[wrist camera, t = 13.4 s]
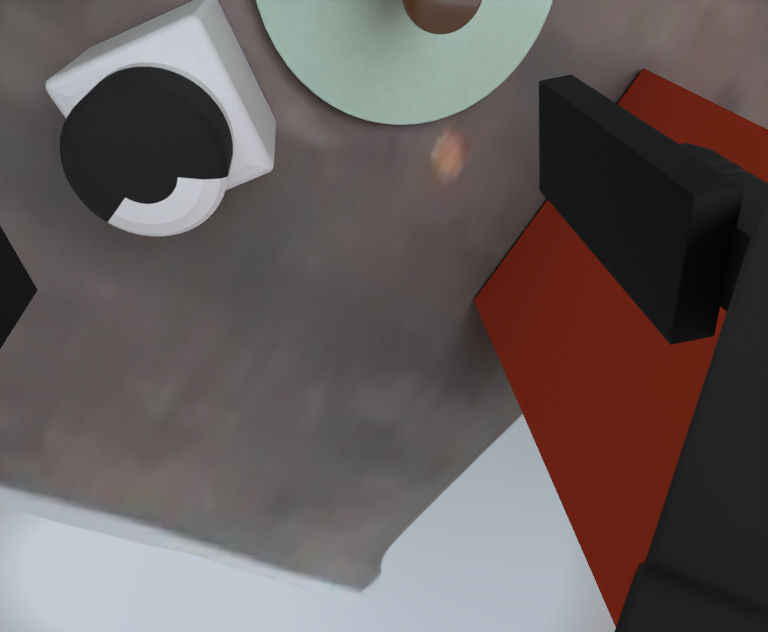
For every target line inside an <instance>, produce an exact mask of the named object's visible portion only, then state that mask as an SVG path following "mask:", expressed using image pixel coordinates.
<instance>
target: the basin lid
mask: <svg viewBox="0 0 768 632" xmlns="http://www.w3.org/2000/svg"><path fill="white" fill-rule="evenodd" d="M552 2H553V0H256V3H257V7H258V10H259V12H260V15H261V18H262V21H263V23H264V26H265V29H266V31H267V33H268V35H269V37H270V38H271V40H272V42H273V44H274V46H275V48H276V50H277V51H278V53H279V54H280V56H281V57H282V59H283V60H284V62H285V63H286V65H287V66H288V67H289V68H290V70H291V71H292V72H293V73H294V74H295V75H296V77H297V78H298V79H299V80H300V81H301V82H302V83H303V84H304V85H305V86H306V87H307V88H309V89H310V90H311V91H312V92H313V93H314V94H315V95H317V96H318V97H320V98H321V99H322V100H324V101H325V102H327V103H328V104H330V105H331V106H333V107H335V108H337V109H339V110H341V111H343V112H345V113H347V114H349V115H352V116H355V117H358V118H360V119H363V120H367V121H372V122H376V123H381V124H393V125H409V124H420V123H426V122H431V121H436V120H439V119H442V118H445V117H448V116H451V115H453V114H456V113H458V112H460V111H462V110H464V109H466V108H468V107H470V106H472V105H473V104H475V103H476V102H478V101H480V100H481V99H483V98H484V97H486V96H487V95H488V94H489V93H491V92H492V91H493V90H494V89H496V88H497V87H498V86H499V85H500V84H501V83H502V82H503V81H504V80H505V79H506V78H507V77H508V76H509V75H510V74H511V73H512V72H513V71H514V70H515V69H516V67H517V66H518V65H519V64H520V62H521V61H522V60H523V59H524V57H525V56H526V55H527V53H528V51H529V50H530V48H531V47H532V45H533V43H534V42H535V40H536V39H537V37H538V35H539V33H540V31H541V29H542V27H543V24H544V22H545V20H546V18H547V16H548V13H549V10H550V7H551V4H552Z"/></svg>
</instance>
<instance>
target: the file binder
mask: <svg viewBox="0 0 768 632" xmlns="http://www.w3.org/2000/svg"><path fill="white" fill-rule="evenodd" d="M618 105H619V106H621V107H622V108H624V109H625V110H627V111H628V112H630V113H632V114H633V115H635V116H636V117H638V118H639V119H641V120H642V121H644V122H646V123H647V124H649V125H650V126H652V127H653V128H655V129H656V130H658V131H660V132H661V133H663V134H664V135H666V136H667V137H669V138H670V139H672V140H674V141H675V142H677V143H678V144H683V143H690V144H694V145H697V146H701V147H704V148H708V149H712V150H714V151H715V152H717V153H719V154H720V155H722V156H724V157H725V158H727V159H729V162H730V163H731V162H733V163H735V164H737V165H738V166H740V167H742V168H743V169H744V171H748V172H750V173H752V174H753V175H755V176H757V177H758V178H760V179H761V180H763V181H765V182H766V183H768V130H767V129H765V128H763V127H761V126H759V125H757V124H755V123H753V122H751V121H749V120H747V119H745V118H743V117H741V116H739V115H737V114H735V113H733V112H731V111H729V110H727V109H725V108H723V107H721V106H719V105H717V104H715V103H712V102H710V101H708V100H706V99H704V98H702V97H700V96H698V95H696V94H694V93H692V92H690V91H688V90H686V89H684V88H682V87H680V86H678V85H676V84H674V83H672V82H670V81H668V80H666V79H664V78H662V77H660V76H658V75H656V74H654V73H652V72H650V71H648V70H645V69H643V70H642V72H641V73H640V74H639V76H638V77H637V78H636V80H635V81H634V82H633V84H632V85H631V87H630V88H629V89H628V91H627V92H626V93H625V95H624V96H623V98H622V99H621V100H620V102H619V103H618ZM474 302H475V305H476V307H477V309H478V312H479V314H480V316H481V319H482V321H483V323H484V325H485V328H486V330H487V332H488V335H489V337H490V339H491V341H492V344H493V346H494V348H495V351H496V353H497V355H498V358H499V360H500V362H501V364H502V367H503V369H504V371H505V374H506V376H507V378H508V381H509V383H510V385H511V387H512V390H513V392H514V394H515V397H516V399H517V401H518V404H519V406H520V408H521V410H522V413H523V415H524V417H525V419H526V422H527V424H528V426H529V429H530V431H531V433H532V435H533V438H534V440H535V442H536V445H537V447H538V449H539V452H540V454H541V456H542V458H543V461H544V463H545V466H546V468H547V470H548V472H549V475H550V477H551V479H552V482H553V484H554V486H555V488H556V491H557V493H558V495H559V498H560V500H561V502H562V505H563V507H564V509H565V511H566V514H567V516H568V518H569V521H570V523H571V525H572V527H573V530H574V532H575V534H576V537H577V539H578V541H579V544H580V546H581V548H582V550H583V553H584V555H585V557H586V560H587V562H588V564H589V567H590V569H591V571H592V573H593V576H594V578H595V580H596V583H597V585H598V587H599V590H600V592H601V594H602V596H603V599H604V601H605V603H606V605H607V608H608V610H609V613H610V615H611V617H612V619H613V622H614V624H615V626H616V627H617V624H618V621H619V618H620V615H621V612H622V609H623V606H624V603H625V600H626V597H627V594H628V591H629V588H630V586H631V583H632V580H633V577H634V575H635V572H636V570H637V568H638V566H639V564H640V563H644V561H645V559H646V556H647V554H648V551H649V548H650V545H651V542H652V539H653V536H654V533H655V530H656V527H657V524H658V521H659V518H660V514H661V511H662V508H663V505H664V502H665V499H666V496H667V493H668V490H669V487H670V484H671V481H672V478H673V475H674V472H675V469H676V466H677V463H678V460H679V456H680V453H681V450H682V447H683V444H684V441H685V438H686V435H687V432H688V429H689V426H690V423H691V420H692V417H693V414H694V411H695V408H696V405H697V401H698V398H699V395H700V392H701V389H702V386H703V383H704V380H705V377H706V374H707V371H708V368H709V365H710V362H711V359H712V356H713V353H714V350H715V346H716V343H717V340H718V337H719V334H720V331H721V328H722V325H723V322H724V319H725V316H726V313H727V312H726V311H725V310H724V309H723V308H722V307H721V306H720V310H719V315H718V320H717V325H716V330H715V335H714V336H712V337H707V338H702V339H698V340H693V341H688V342H683V343H678V344H673V345H670V344H669V343H668V342H667V340H666V339H665V338H664V337H663V336H662V334H661V333H660V332H659V331H658V330H657V329H656V327H655V326H654V325H653V324H652V323H651V321H650V320H649V319H648V318H647V317H646V315H645V314H644V313H643V312H642V311H641V310H640V308H639V307H638V306H637V305H636V304H635V302H634V301H633V300H632V299H631V298H630V297H629V295H628V294H627V293H626V292H625V291H624V289H623V288H622V287H621V286H620V285H619V284H618V282H617V281H616V280H615V279H614V278H613V276H612V275H611V274H610V273H609V272H608V270H607V269H606V268H605V267H604V266H603V265H602V263H601V262H600V261H599V260H598V259H597V257H596V256H595V255H594V254H593V253H592V252H591V250H590V249H589V248H588V247H587V246H586V244H585V243H584V242H583V241H582V240H581V239H580V237H579V236H578V235H577V234H576V233H575V231H574V230H573V229H572V228H571V227H570V225H569V224H568V223H567V222H566V221H565V220H564V218H563V217H562V216H561V215H560V214H559V212H558V211H557V210H556V209H555V208H554V207H553V205H552V204H551V203H550V202H549V201H548V200H547V201H546V203H545V204H544V206H543V207H542V208H541V210H540V211H539V212H538V214H537V215H536V216H535V218H534V219H533V221H532V222H531V223H530V225H529V226H528V227H527V229H526V230H525V231H524V233H523V234H522V236H521V237H520V238H519V240H518V241H517V242H516V244H515V245H514V247H513V248H512V249H511V251H510V252H509V253H508V255H507V256H506V257H505V259H504V260H503V262H502V263H501V264H500V266H499V267H498V268H497V270H496V271H495V273H494V274H493V275H492V277H491V278H490V279H489V281H488V282H487V283H486V285H485V286H484V288H483V289H482V290H481V292H480V293H479V294H478V296H477V297H476V298H475V300H474Z"/></svg>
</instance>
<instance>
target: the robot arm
mask: <svg viewBox="0 0 768 632" xmlns="http://www.w3.org/2000/svg"><path fill="white" fill-rule="evenodd" d="M539 157H540V191H541V192H542V193H543V195H544V196H545V197H546V198H547V199H548V201H549V202H550V203H551V204H552V205H553V207H554V208H555V209H556V210H557V211H558V212H559V214H560V215H561V216H562V217H563V218H564V220H565V221H566V222H567V223H568V224H569V225H570V227H571V228H572V229H573V230H574V231H575V233H576V234H577V235H578V236H579V237H580V239H581V240H582V241H583V242H584V243H585V244H586V246H587V247H588V248H589V249H590V250H591V252H592V253H593V254H594V255H595V256H596V257H597V259H598V260H599V261H600V262H601V263H602V265H603V266H604V267H605V268H606V269H607V270H608V272H609V273H610V274H611V275H612V276H613V278H614V279H615V280H616V281H617V282H618V284H619V285H620V286H621V287H622V288H623V289H624V291H625V292H626V293H627V294H628V295H629V297H630V298H631V299H632V300H633V301H634V302H635V304H636V305H637V306H638V307H639V308H640V310H641V311H642V312H643V313H644V314H645V315H646V317H647V318H648V319H649V320H650V321H651V323H652V324H653V325H654V326H655V327H656V329H657V330H658V331H659V332H660V333H661V334H662V336H663V337H664V338H665V339H666V340H667V342H668V343H669V344H670V345H673V344H678V343H683V342H688V341H693V340H698V339H702V338H707V337H712V336H714V335H715V330H716V325H717V320H718V315H719V310H720V306H721V307H722V308H723V309H724V310H725V311H726V312H727V313H726V316H725V319H724V322H723V325H722V328H721V331H720V334H719V337H718V340H717V343H716V346H715V350H714V353H713V356H712V359H711V362H710V365H709V368H708V371H707V374H706V377H705V380H704V383H703V386H702V389H701V392H700V395H699V398H698V401H697V405H696V408H695V411H694V414H693V417H692V420H691V423H690V426H689V429H688V432H687V435H686V438H685V441H684V444H683V447H682V450H681V453H680V456H679V460H678V463H677V466H676V469H675V472H674V475H673V478H672V481H671V484H670V487H669V490H668V493H667V496H666V499H665V502H664V505H663V508H662V511H661V514H660V518H659V521H658V524H657V527H656V530H655V533H654V536H653V539H652V542H651V545H650V548H649V551H648V554H647V556H646V559H645V561H644V563H640V564H639V566H638V568H637V570H636V572H635V575H634V577H633V580H632V583H631V586H630V588H629V591H628V594H627V597H626V600H625V603H624V606H623V609H622V612H621V615H620V618H619V621H618V624H617V627H616V630H615V632H768V183H766V182H765V181H763V180H761V179H760V178H758V177H757V176H755V175H753V174H752V173H750V172H748V171H744V169H743V168H742V167H740V166H738V165H737V164H735V163H733V162H731V163H730V162H729V159H727V158H725V157H724V156H722V155H720V154H719V153H717V152H715V151H714V150H712V149H708V148H704V147H701V146H697V145H694V144H690V143H683V144H678V143H677V142H675V141H674V140H672V139H670V138H669V137H667V136H666V135H664V134H663V133H661V132H660V131H658V130H656V129H655V128H653V127H652V126H650V125H649V124H647V123H646V122H644V121H642V120H641V119H639V118H638V117H636V116H635V115H633V114H632V113H630V112H628V111H627V110H625V109H624V108H622V107H621V106H619V105H618V104H616V103H614V102H613V101H611V100H610V99H608V98H607V97H605V96H604V95H602V94H601V93H599V92H597V91H596V90H594V89H593V88H591V87H590V86H588V85H587V84H585V83H583V82H582V81H580V80H579V79H577V78H576V77H574V76H573V75H567V76H562V77H557V78H552V79H547V80H542V81H539ZM36 291H37V288H36V287H35V285H34V283H33V281H32V280H31V278H30V276H29V275H28V273H27V271H26V269H25V268H24V266H23V264H22V263H21V261H20V259H19V257H18V256H17V254H16V252H15V250H14V249H13V247H12V245H11V244H10V242H9V240H8V238H7V237H6V235H5V233H4V232H3V230H2V228H1V226H0V348H1V347H2V345H3V344H4V342H5V341H6V339H7V337H8V336H9V334H10V333H11V331H12V329H13V328H14V326H15V325H16V323H17V322H18V320H19V318H20V317H21V315H22V314H23V312H24V310H25V309H26V307H27V306H28V304H29V303H30V301H31V299H32V298H33V296H34V295H35V293H36Z"/></svg>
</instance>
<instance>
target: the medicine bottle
mask: <svg viewBox="0 0 768 632" xmlns="http://www.w3.org/2000/svg"><path fill="white" fill-rule="evenodd" d="M45 88H46V91H47V92H48V94H49V95H50V97H51V98H52V100H53V101H54V102H55V104H56V105H57V107H58V108H59V110H60V111H61V113H62V114H63V115H64V117H65V118H66V121H65V123H64V126H63V129H62V133H61V139H60V154H61V161H62V165H63V169H64V172H65V174H66V177H67V179H68V181H69V183H70V185H71V187H72V189H73V190H74V192H75V193H76V194H77V196H78V197H79V198H80V200H81V201H82V202H83V203H84V204H85V205H86V206H87V207H88V208H89V209H90V210H91V211H92V212H94V213H95V214H96V215H97V216H99V217H100V218H102V219H103V220H105V221H106V222H108V223H110V224H111V225H113V226H115V227H117V228H120V229H122V230H125V231H128V232H131V233H135V234H139V235H145V236H171V235H176V234H180V233H183V232H186V231H189V230H191V229H193V228H195V227H197V226H198V225H200V224H201V223H203V222H204V221H205V220H207V219H208V218H209V217H210V216H211V215H212V214H213V213H214V211H215V210H216V208H217V207H218V206H219V204H220V202H221V200H222V198H223V196H224V193H225V191H226V190H228V189H231V188H233V187H235V186H238V185H240V184H243V183H245V182H247V181H250V180H252V179H255V178H257V177H259V176H262V175H264V174H267V173H269V172H270V171H271V170H272V169H273V167H274V154H275V139H276V120H275V118H274V116H273V114H272V111H271V109H270V107H269V105H268V103H267V101H266V99H265V97H264V95H263V93H262V91H261V89H260V87H259V85H258V83H257V81H256V78H255V76H254V74H253V72H252V70H251V68H250V66H249V64H248V62H247V60H246V58H245V56H244V54H243V52H242V50H241V48H240V45H239V43H238V41H237V39H236V37H235V35H234V33H233V31H232V29H231V27H230V25H229V23H228V21H227V19H226V17H225V15H224V12H223V10H222V8H221V6H220V4H219V2H218V0H193V1H191V2H188V3H186V4H184V5H182V6H180V7H177V8H175V9H173V10H171V11H169V12H167V13H164V14H162V15H160V16H158V17H156V18H153V19H151V20H149V21H147V22H145V23H142V24H140V25H138V26H136V27H134V28H132V29H129V30H127V31H125V32H123V33H121V34H118V35H116V36H114V37H112V38H110V39H107V40H105V41H103V42H101V43H99V44H96V45H94V46H92V47H90V48H89V49H88V50H86V51H85V52H84V53H82V54H81V55H80V56H78V57H77V58H76V59H74V60H73V61H72V62H71V63H69V64H68V65H67V66H65V67H64V68H63V69H61V70H60V71H59V72H57V73H56V74H55V75H53V76H52V77H51V78H49V79H48V80H47V81H46V86H45Z"/></svg>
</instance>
